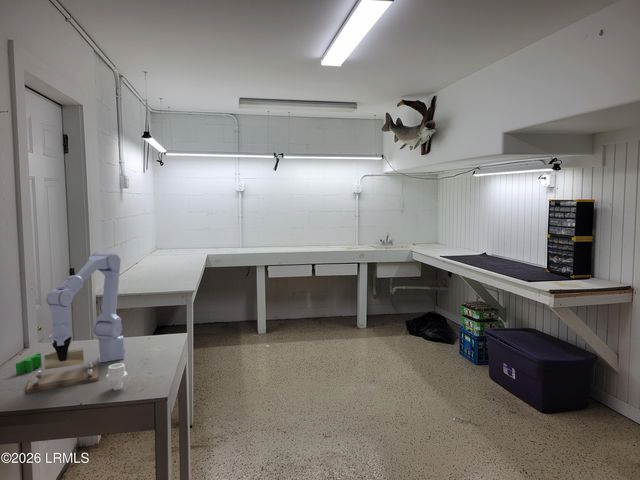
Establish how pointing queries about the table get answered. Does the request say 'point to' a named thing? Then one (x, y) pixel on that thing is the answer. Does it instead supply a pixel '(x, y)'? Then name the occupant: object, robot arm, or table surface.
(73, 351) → the pine shelf board
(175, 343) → the table surface
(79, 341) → the table surface
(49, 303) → the robot arm
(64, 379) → the peg base
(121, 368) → the pipe fitting
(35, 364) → the green block
